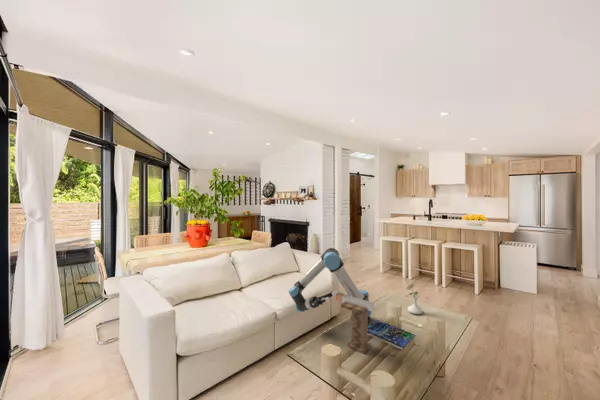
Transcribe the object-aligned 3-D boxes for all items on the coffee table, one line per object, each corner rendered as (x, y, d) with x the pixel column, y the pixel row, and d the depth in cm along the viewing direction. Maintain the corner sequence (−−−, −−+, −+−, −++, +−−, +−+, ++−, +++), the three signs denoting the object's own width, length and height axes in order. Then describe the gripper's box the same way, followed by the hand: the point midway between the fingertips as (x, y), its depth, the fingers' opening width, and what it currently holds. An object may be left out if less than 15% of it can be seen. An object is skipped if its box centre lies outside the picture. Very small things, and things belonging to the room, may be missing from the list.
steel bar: (335, 300, 185) (335, 294, 184) (338, 298, 188) (338, 292, 187) (371, 311, 169) (371, 305, 168) (374, 308, 172) (374, 302, 172)
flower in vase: (418, 308, 229) (419, 280, 227) (425, 315, 218) (426, 285, 216) (403, 308, 229) (404, 280, 227) (409, 315, 218) (410, 285, 216)
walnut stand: (341, 344, 181) (341, 304, 179) (347, 337, 189) (348, 298, 186) (364, 354, 170) (365, 311, 168) (370, 346, 178) (371, 305, 176)
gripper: (323, 301, 207) (345, 294, 195) (304, 314, 187) (327, 307, 175) (319, 292, 209) (340, 284, 197) (300, 304, 189) (322, 296, 177)
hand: (334, 295), depth 186 cm, fingers open, 13 cm apart
